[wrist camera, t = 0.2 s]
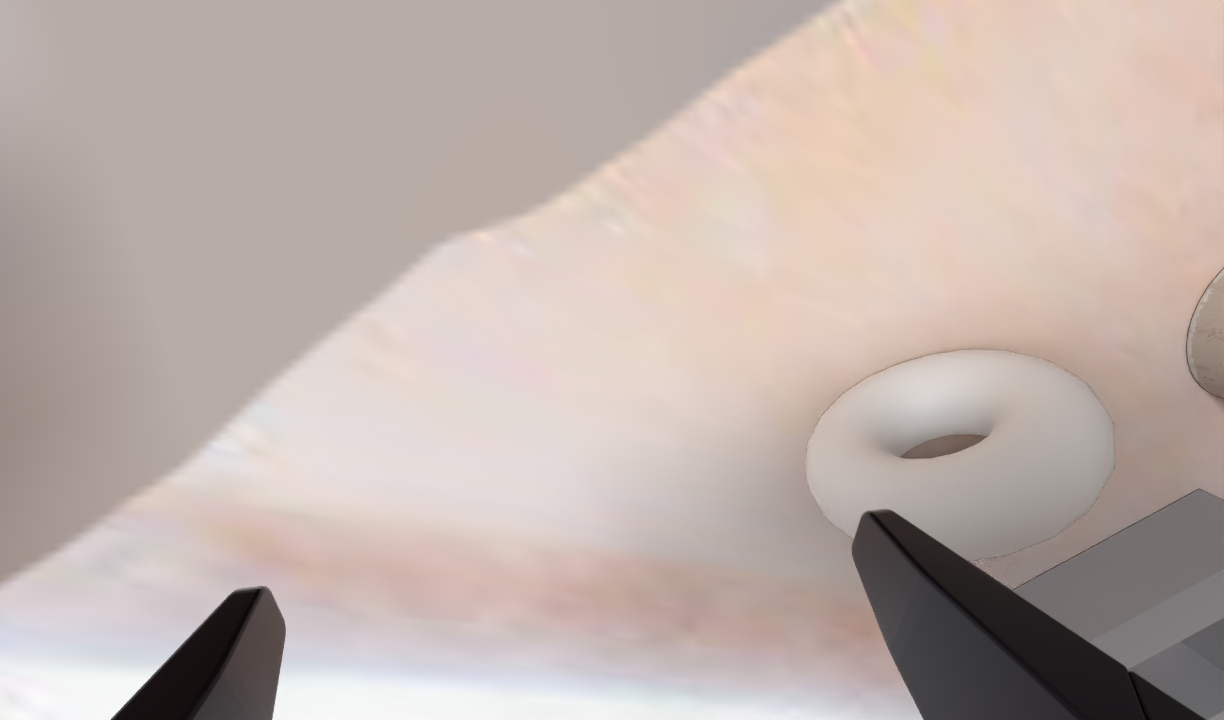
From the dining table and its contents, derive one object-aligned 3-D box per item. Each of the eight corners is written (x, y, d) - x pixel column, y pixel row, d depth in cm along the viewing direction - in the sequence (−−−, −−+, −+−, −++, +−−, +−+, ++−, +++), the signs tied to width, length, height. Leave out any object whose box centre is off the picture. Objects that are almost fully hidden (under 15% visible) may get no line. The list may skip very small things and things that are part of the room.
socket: (1041, 747, 36) (1102, 815, 33) (987, 603, 32) (1050, 662, 28) (1228, 646, 36) (1311, 703, 33) (1199, 488, 32) (1291, 532, 28)
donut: (957, 307, 27) (1201, 389, 17) (978, 372, 28) (1216, 482, 18) (753, 419, 27) (884, 561, 17) (782, 480, 28) (919, 642, 19)
